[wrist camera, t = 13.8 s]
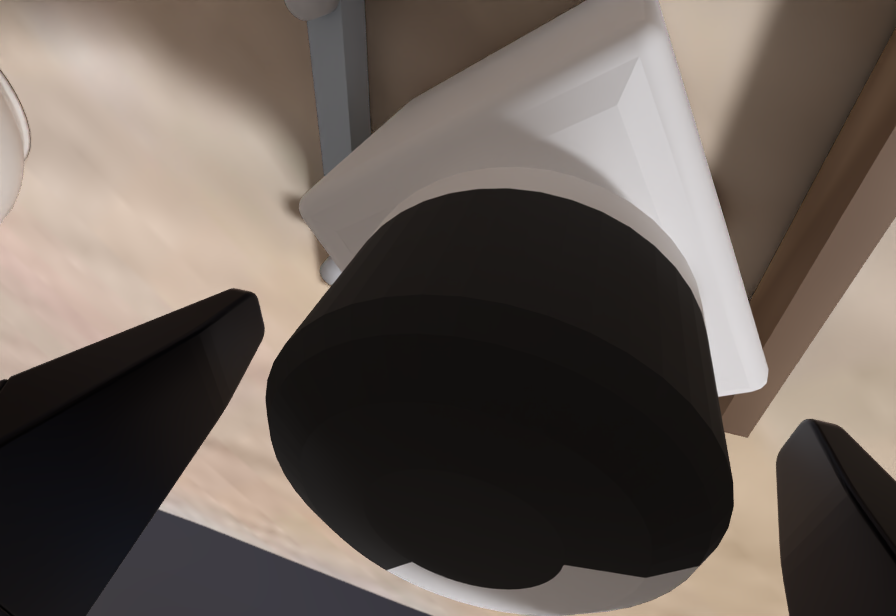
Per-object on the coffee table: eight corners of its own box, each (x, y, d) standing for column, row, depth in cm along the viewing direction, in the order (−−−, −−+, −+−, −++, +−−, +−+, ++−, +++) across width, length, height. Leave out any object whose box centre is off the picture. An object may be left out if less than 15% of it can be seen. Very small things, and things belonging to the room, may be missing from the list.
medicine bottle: (405, 101, 15) (85, 380, 6) (647, -37, 12) (693, 151, 3) (508, 285, 19) (389, 651, 9) (725, 219, 15) (866, 703, 6)
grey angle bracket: (911, -142, 10) (976, -153, 8) (674, 368, 19) (679, 420, 17) (317, -166, 12) (259, -179, 10) (356, 298, 21) (328, 337, 19)
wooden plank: (1047, -137, 9) (1139, -146, 8) (737, 388, 18) (747, 437, 16) (984, -139, 9) (1058, -148, 8) (707, 381, 18) (714, 429, 17)
